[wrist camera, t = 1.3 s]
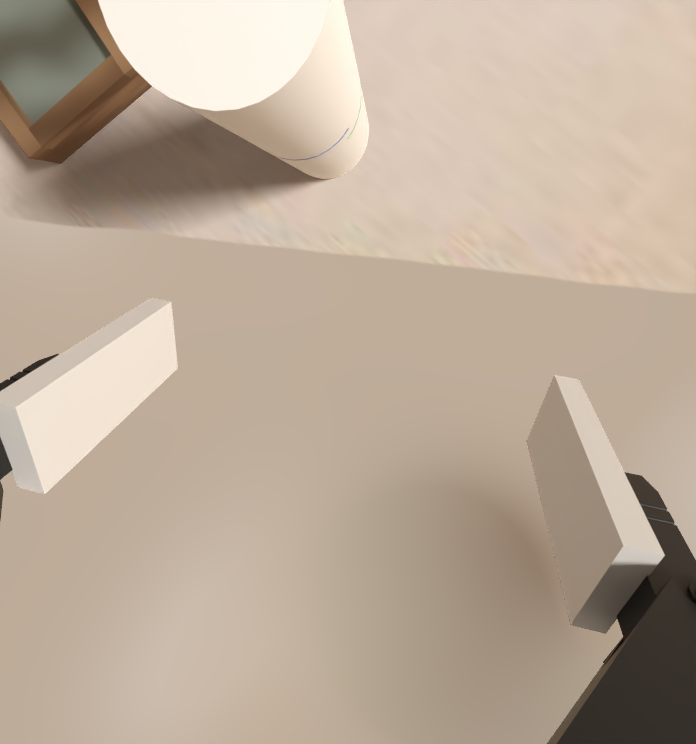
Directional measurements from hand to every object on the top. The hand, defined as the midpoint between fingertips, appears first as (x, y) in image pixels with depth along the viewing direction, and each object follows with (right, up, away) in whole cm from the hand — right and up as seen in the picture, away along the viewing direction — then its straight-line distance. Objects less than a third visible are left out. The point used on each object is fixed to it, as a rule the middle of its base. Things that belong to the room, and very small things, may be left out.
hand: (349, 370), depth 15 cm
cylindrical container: (-2, +20, +21) cm, 29 cm away
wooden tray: (-23, +26, +21) cm, 41 cm away
